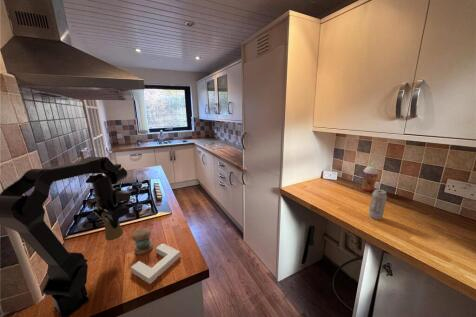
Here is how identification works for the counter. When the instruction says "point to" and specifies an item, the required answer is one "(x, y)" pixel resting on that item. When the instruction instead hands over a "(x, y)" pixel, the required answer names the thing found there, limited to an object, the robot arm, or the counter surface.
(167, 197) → the counter surface
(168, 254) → the notched board
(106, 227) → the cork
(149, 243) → the brown spool-shaped piece
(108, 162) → the robot arm
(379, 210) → the energy drink can
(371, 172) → the smoothie
